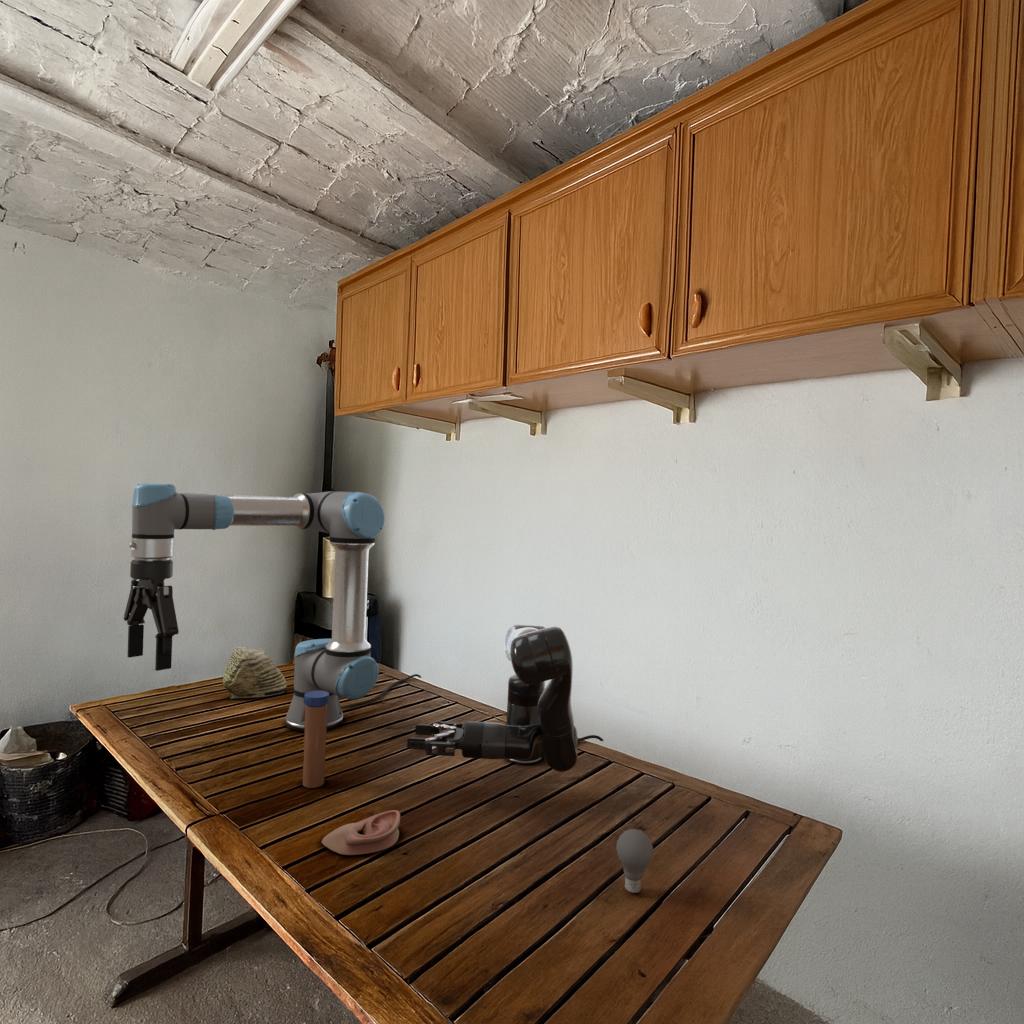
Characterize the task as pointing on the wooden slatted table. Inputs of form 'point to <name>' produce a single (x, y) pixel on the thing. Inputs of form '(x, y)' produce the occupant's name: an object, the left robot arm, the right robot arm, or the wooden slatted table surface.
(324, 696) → the lid
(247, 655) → the fossil
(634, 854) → the light bulb
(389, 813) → the anatomical model
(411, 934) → the wooden slatted table surface
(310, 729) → the brown tube
